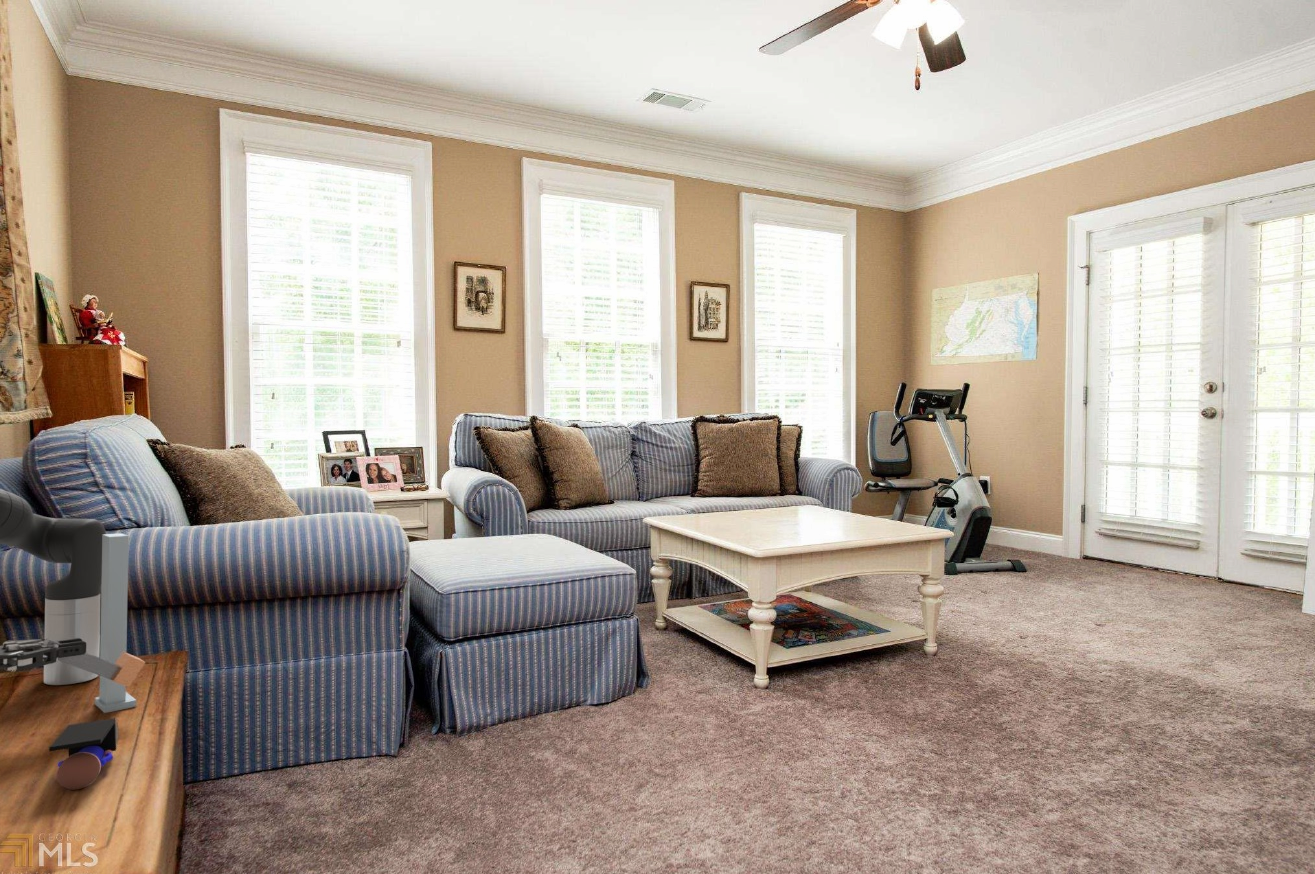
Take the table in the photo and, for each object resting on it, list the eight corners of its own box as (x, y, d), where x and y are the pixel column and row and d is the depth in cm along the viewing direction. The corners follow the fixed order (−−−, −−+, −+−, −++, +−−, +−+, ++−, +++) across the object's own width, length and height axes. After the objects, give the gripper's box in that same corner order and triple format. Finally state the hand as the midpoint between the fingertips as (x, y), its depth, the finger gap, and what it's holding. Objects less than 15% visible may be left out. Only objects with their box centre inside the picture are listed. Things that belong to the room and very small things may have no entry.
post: (94, 704, 148) (97, 534, 148) (125, 697, 152) (128, 532, 152) (104, 713, 143) (107, 537, 144) (136, 706, 147) (139, 535, 147)
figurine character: (68, 769, 123) (44, 798, 109) (70, 718, 123) (47, 741, 110) (120, 762, 126) (103, 789, 112) (122, 712, 127) (105, 733, 113)
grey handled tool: (35, 649, 133) (54, 624, 134) (121, 681, 142) (138, 657, 143) (41, 654, 129) (60, 628, 131) (128, 687, 138) (145, 662, 140)
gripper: (-44, 648, 118) (94, 630, 131) (-56, 632, 128) (75, 617, 140) (-46, 698, 118) (93, 675, 131) (-57, 679, 127) (73, 659, 140)
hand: (83, 645), depth 136 cm, fingers closed on grey handled tool, 2 cm apart
